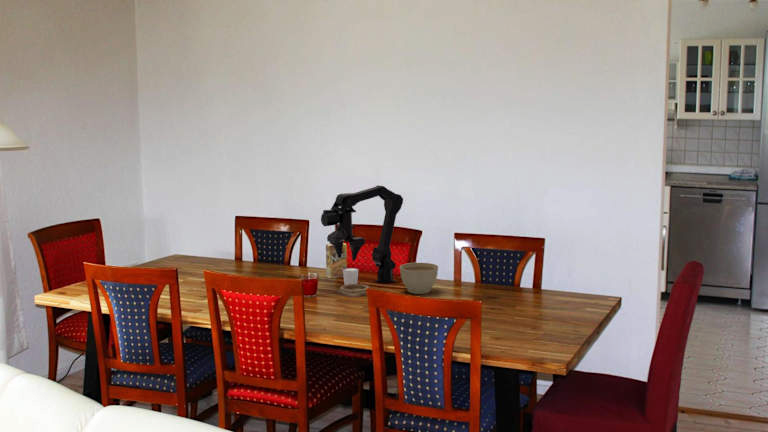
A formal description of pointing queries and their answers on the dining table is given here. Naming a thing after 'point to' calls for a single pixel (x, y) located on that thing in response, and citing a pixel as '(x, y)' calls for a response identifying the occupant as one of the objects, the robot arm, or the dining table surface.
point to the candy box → (335, 261)
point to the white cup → (350, 276)
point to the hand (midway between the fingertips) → (346, 259)
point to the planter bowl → (419, 277)
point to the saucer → (352, 290)
